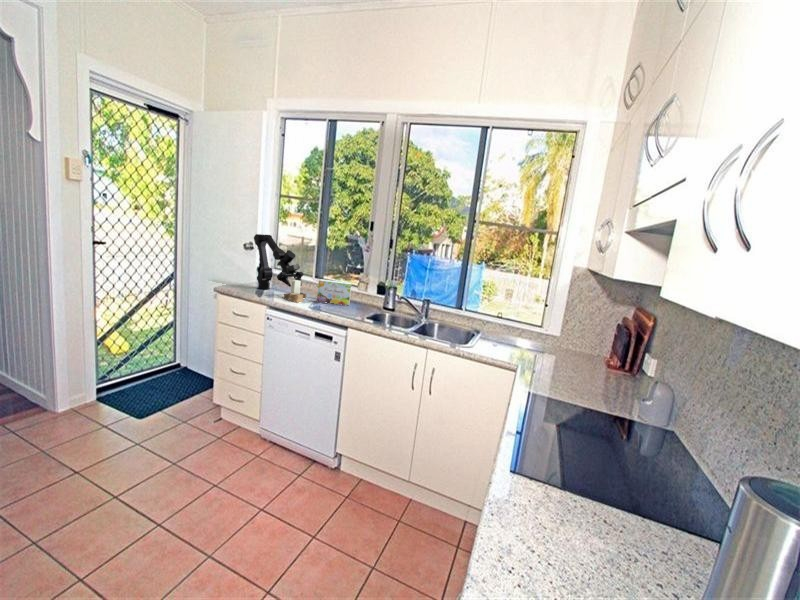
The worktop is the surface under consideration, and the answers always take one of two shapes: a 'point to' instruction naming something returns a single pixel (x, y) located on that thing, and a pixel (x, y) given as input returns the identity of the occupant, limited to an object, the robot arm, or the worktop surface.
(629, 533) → the worktop surface
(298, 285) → the white rectangular block
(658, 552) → the worktop surface
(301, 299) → the block
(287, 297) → the frame
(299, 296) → the offcut top
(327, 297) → the snack box
